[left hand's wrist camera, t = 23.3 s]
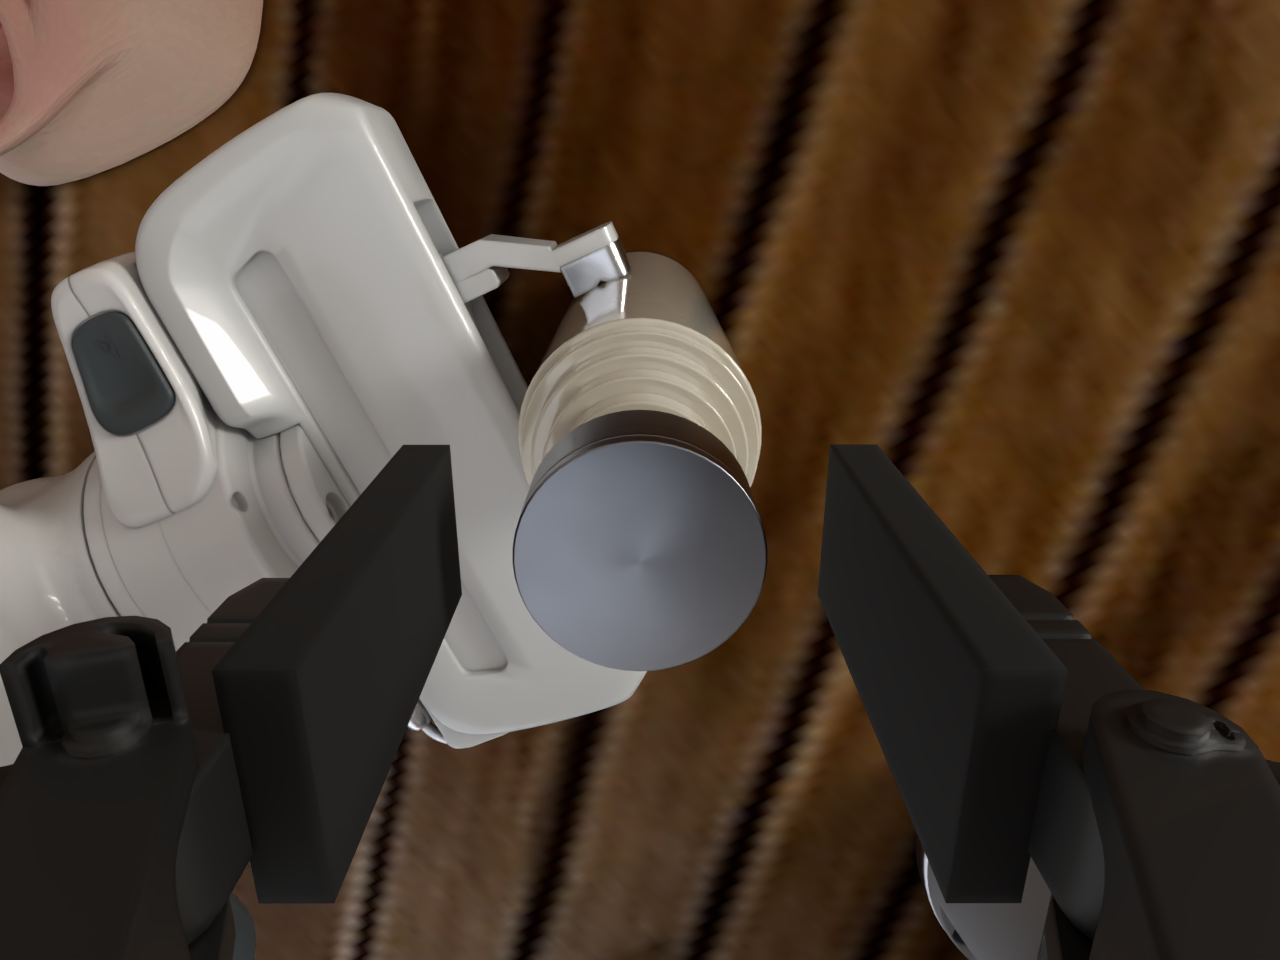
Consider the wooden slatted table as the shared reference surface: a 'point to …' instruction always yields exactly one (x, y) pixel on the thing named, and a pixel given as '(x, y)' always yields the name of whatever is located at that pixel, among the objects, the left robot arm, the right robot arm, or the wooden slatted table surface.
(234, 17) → the anatomical model
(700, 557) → the cap
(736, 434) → the bottle
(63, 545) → the right robot arm
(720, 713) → the wooden slatted table surface
